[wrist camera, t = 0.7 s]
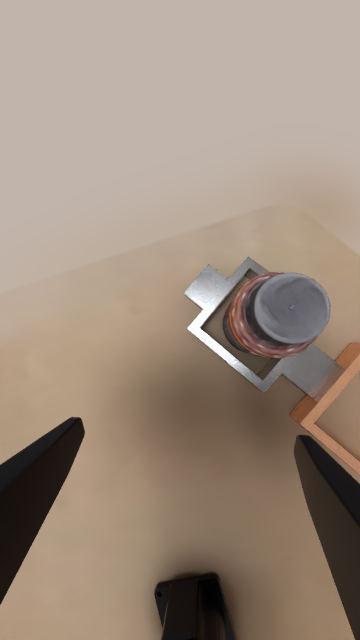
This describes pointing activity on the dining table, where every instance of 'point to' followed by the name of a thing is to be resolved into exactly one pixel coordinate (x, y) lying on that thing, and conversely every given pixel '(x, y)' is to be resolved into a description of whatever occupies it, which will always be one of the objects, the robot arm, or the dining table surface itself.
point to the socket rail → (301, 369)
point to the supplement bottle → (277, 315)
